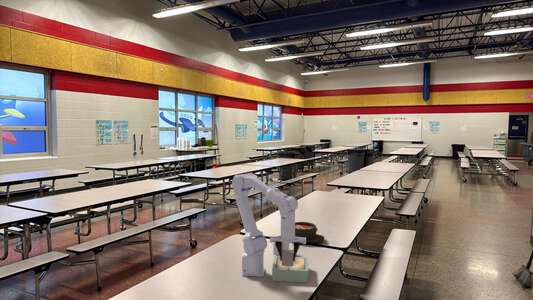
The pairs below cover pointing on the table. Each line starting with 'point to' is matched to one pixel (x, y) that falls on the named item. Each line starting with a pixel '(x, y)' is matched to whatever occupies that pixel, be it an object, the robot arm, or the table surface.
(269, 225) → the table surface
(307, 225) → the casserole
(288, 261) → the gray block
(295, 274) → the trapdoor frame
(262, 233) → the robot arm
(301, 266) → the trapdoor
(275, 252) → the medicine box
